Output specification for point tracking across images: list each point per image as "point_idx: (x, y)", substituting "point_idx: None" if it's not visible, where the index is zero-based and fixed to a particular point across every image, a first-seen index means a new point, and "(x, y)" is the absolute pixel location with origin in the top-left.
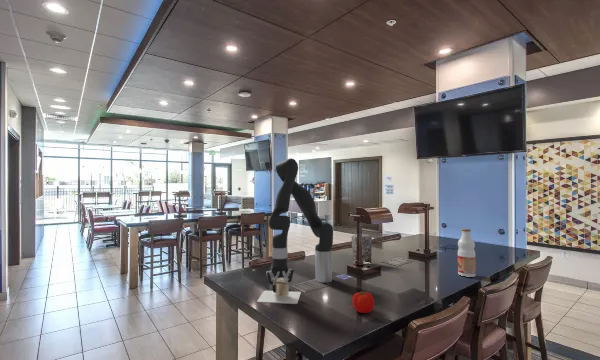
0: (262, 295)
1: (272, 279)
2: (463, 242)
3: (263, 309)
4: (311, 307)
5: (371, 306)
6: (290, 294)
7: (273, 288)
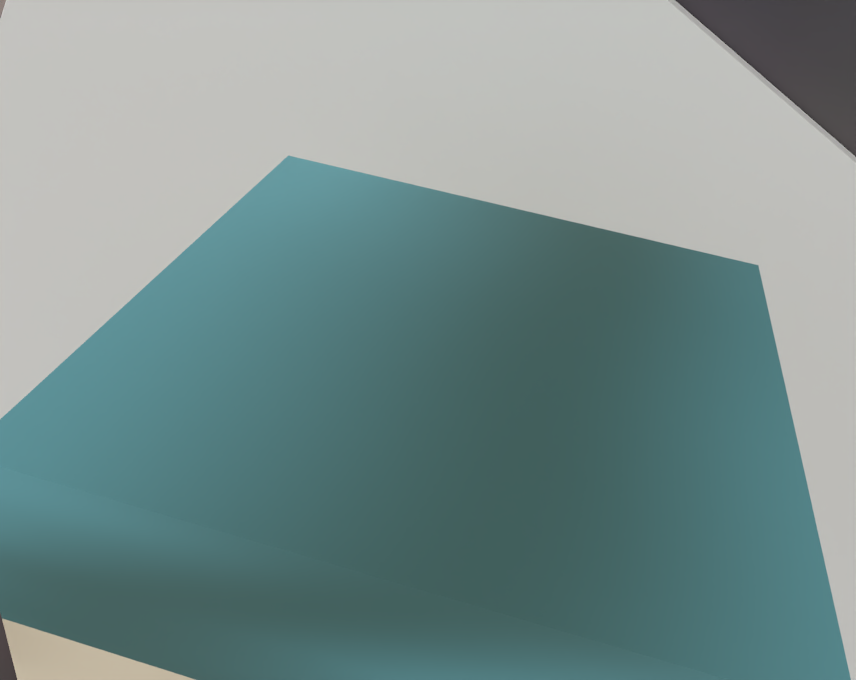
0: (17, 135)
1: (23, 571)
2: None
3: (8, 661)
4: None
5: None
6: (821, 531)
7: None
